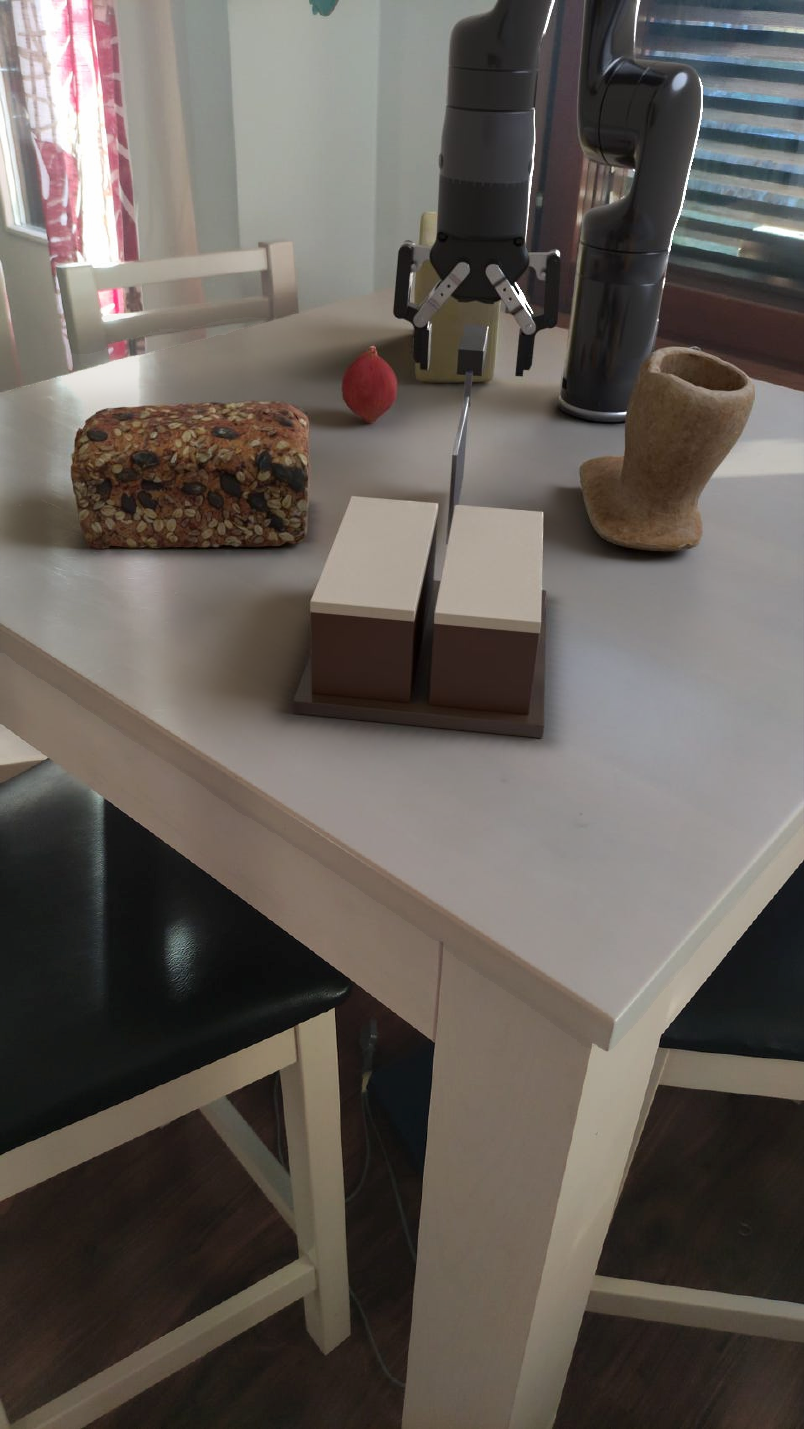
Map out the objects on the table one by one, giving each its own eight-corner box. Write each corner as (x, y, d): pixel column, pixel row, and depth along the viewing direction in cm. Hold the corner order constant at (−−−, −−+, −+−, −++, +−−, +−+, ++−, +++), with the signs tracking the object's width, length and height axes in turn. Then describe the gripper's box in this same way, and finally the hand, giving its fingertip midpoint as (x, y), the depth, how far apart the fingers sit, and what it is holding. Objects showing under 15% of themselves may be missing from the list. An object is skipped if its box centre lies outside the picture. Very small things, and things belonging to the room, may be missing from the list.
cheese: (388, 331, 140) (392, 208, 132) (460, 331, 142) (468, 209, 133) (413, 384, 123) (420, 246, 114) (495, 384, 124) (507, 247, 115)
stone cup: (731, 567, 87) (776, 387, 78) (587, 558, 87) (615, 377, 79) (701, 494, 99) (736, 331, 91) (575, 486, 100) (598, 322, 91)
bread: (311, 500, 95) (309, 390, 89) (310, 554, 86) (308, 435, 80) (100, 498, 93) (85, 386, 88) (77, 552, 85) (59, 432, 79)
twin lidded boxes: (339, 582, 82) (340, 489, 78) (544, 601, 81) (557, 507, 77) (293, 713, 68) (290, 607, 63) (542, 738, 66) (557, 632, 62)
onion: (332, 426, 110) (332, 349, 106) (355, 409, 115) (355, 334, 110) (383, 435, 109) (385, 357, 104) (404, 418, 113) (407, 342, 109)
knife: (456, 442, 104) (464, 324, 98) (478, 443, 104) (488, 326, 98) (435, 543, 85) (443, 406, 79) (462, 546, 85) (472, 408, 79)
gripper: (573, 168, 88) (550, 364, 97) (404, 159, 89) (398, 353, 99) (574, 183, 82) (550, 390, 91) (393, 173, 83) (387, 378, 92)
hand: (471, 371), depth 95 cm, fingers open, 8 cm apart
